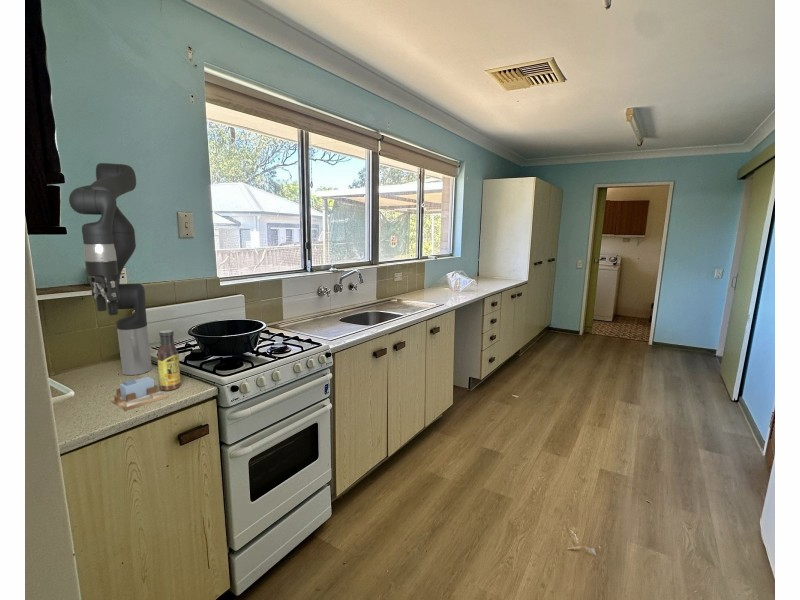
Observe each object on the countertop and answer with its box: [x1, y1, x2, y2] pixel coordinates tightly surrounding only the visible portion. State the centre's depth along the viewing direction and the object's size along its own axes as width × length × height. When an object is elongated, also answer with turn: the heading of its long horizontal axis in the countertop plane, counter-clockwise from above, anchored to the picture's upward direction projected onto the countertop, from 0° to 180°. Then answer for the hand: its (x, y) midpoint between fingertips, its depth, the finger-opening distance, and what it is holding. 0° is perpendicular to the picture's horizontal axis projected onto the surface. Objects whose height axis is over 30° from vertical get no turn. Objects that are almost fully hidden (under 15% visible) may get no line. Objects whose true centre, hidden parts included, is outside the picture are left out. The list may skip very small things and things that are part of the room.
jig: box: [109, 384, 167, 412], centre depth 123 cm, size 11×12×4 cm
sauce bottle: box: [156, 329, 181, 392], centre depth 130 cm, size 6×6×20 cm
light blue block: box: [119, 376, 155, 400], centre depth 123 cm, size 4×8×6 cm, turn 146°
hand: (107, 312), depth 118 cm, fingers open, 8 cm apart
